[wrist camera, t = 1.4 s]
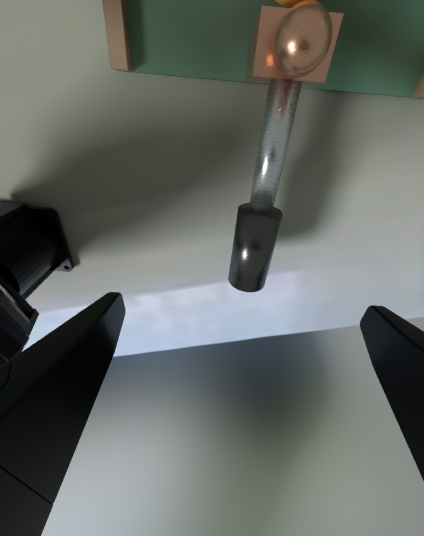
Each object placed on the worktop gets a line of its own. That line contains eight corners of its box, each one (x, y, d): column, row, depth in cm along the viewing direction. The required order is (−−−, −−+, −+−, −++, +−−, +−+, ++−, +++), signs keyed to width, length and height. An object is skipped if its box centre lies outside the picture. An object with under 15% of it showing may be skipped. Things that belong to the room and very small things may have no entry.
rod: (262, 259, 23) (274, 305, 17) (224, 256, 22) (225, 301, 17) (314, 34, 14) (369, -6, 9) (251, 28, 14) (270, -15, 9)
